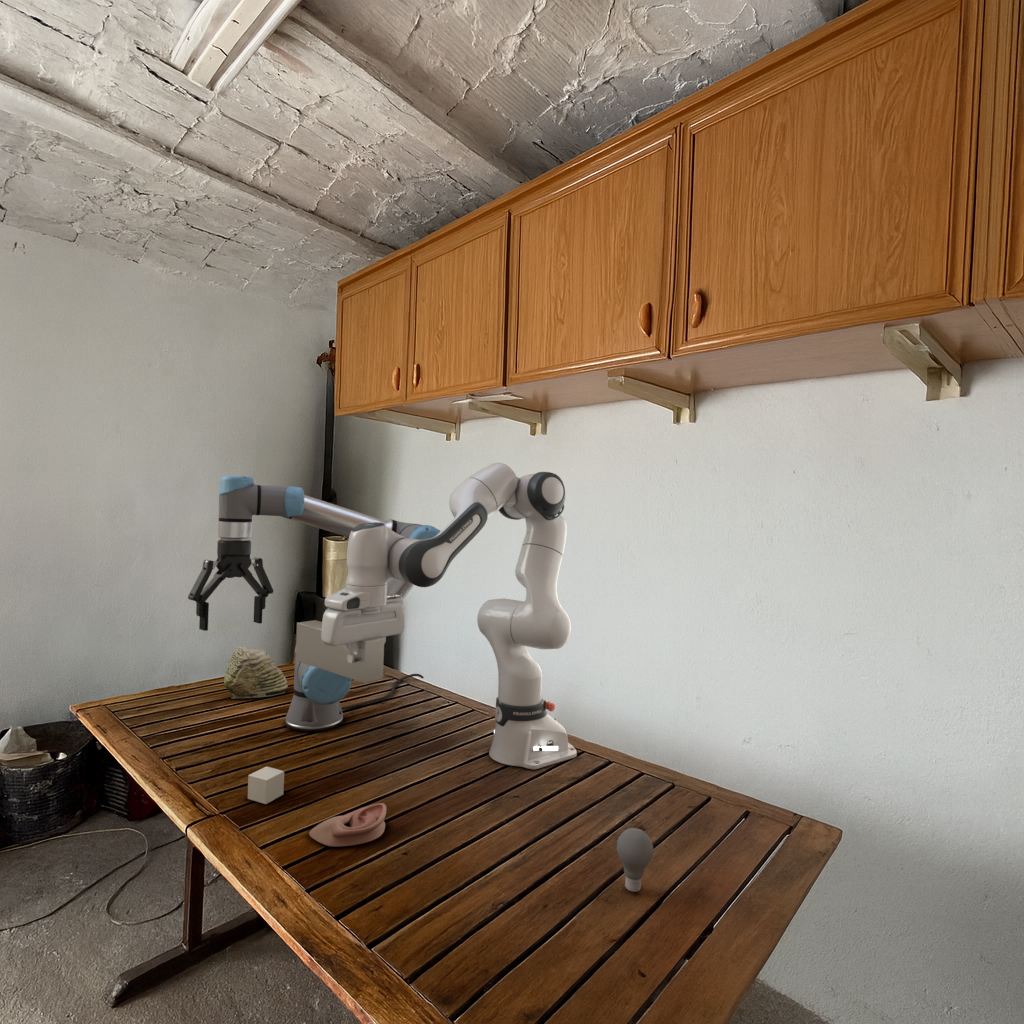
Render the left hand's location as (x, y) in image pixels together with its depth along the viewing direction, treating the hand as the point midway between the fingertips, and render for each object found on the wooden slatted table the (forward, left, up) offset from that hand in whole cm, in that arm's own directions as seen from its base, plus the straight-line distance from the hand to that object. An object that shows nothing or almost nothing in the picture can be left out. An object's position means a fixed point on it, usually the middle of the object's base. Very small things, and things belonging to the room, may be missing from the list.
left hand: (231, 626), depth 154 cm
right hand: (-10, +38, -3) cm, 40 cm away
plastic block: (+6, +28, -31) cm, 42 cm away
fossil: (-27, -35, -31) cm, 54 cm away
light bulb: (-18, +101, -31) cm, 107 cm away
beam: (-10, +29, -7) cm, 31 cm away
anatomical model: (+3, +52, -31) cm, 60 cm away
